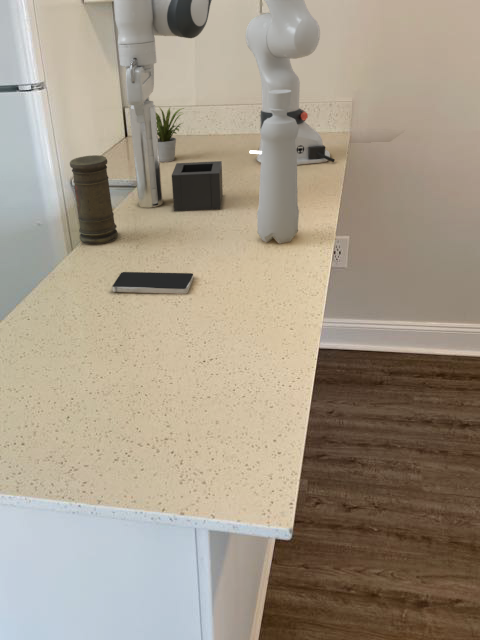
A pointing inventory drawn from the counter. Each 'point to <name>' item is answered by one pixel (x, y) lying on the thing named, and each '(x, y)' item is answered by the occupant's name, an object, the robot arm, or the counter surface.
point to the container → (93, 200)
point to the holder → (197, 186)
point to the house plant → (166, 136)
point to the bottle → (278, 172)
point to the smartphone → (153, 282)
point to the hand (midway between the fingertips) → (143, 118)
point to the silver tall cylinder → (146, 156)
